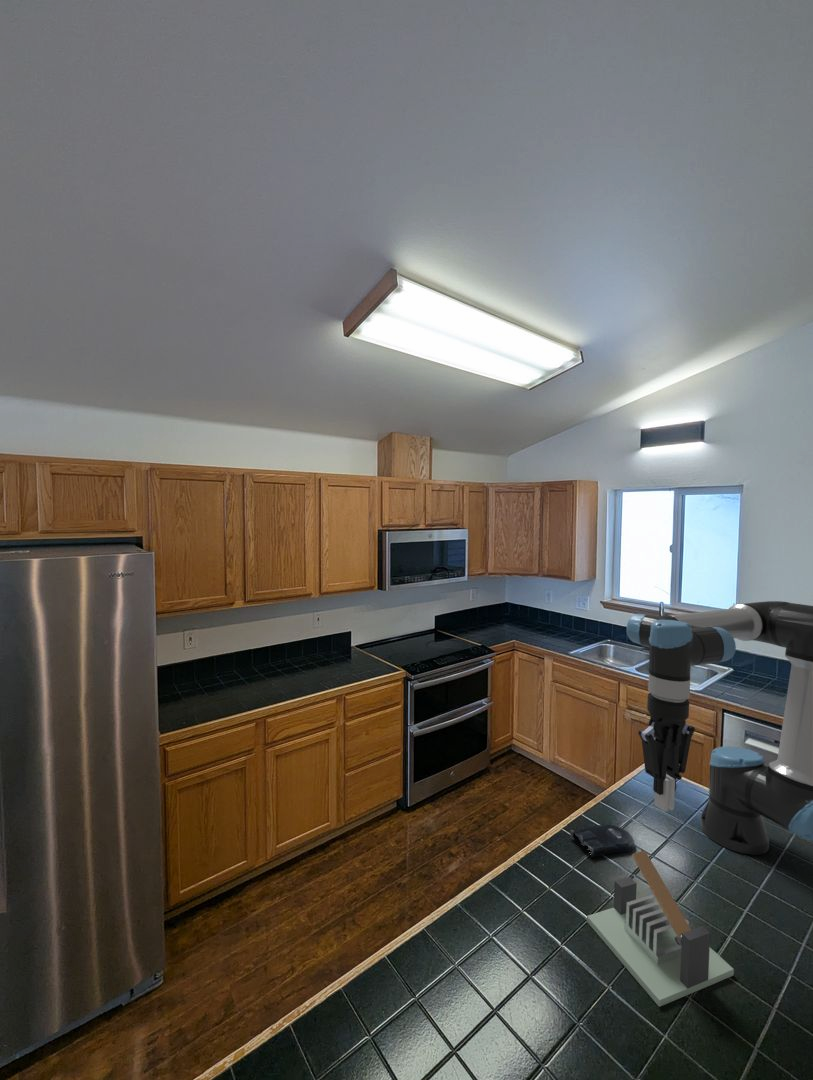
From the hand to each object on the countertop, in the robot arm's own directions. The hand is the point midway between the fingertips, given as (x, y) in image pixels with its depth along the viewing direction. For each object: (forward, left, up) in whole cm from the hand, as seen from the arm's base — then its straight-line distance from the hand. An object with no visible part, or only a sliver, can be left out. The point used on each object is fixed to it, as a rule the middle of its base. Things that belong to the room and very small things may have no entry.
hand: (664, 806), depth 96 cm
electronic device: (-6, -23, -25) cm, 34 cm away
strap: (+6, +5, -13) cm, 16 cm away
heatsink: (+6, +5, -23) cm, 24 cm away
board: (+6, +4, -24) cm, 26 cm away
